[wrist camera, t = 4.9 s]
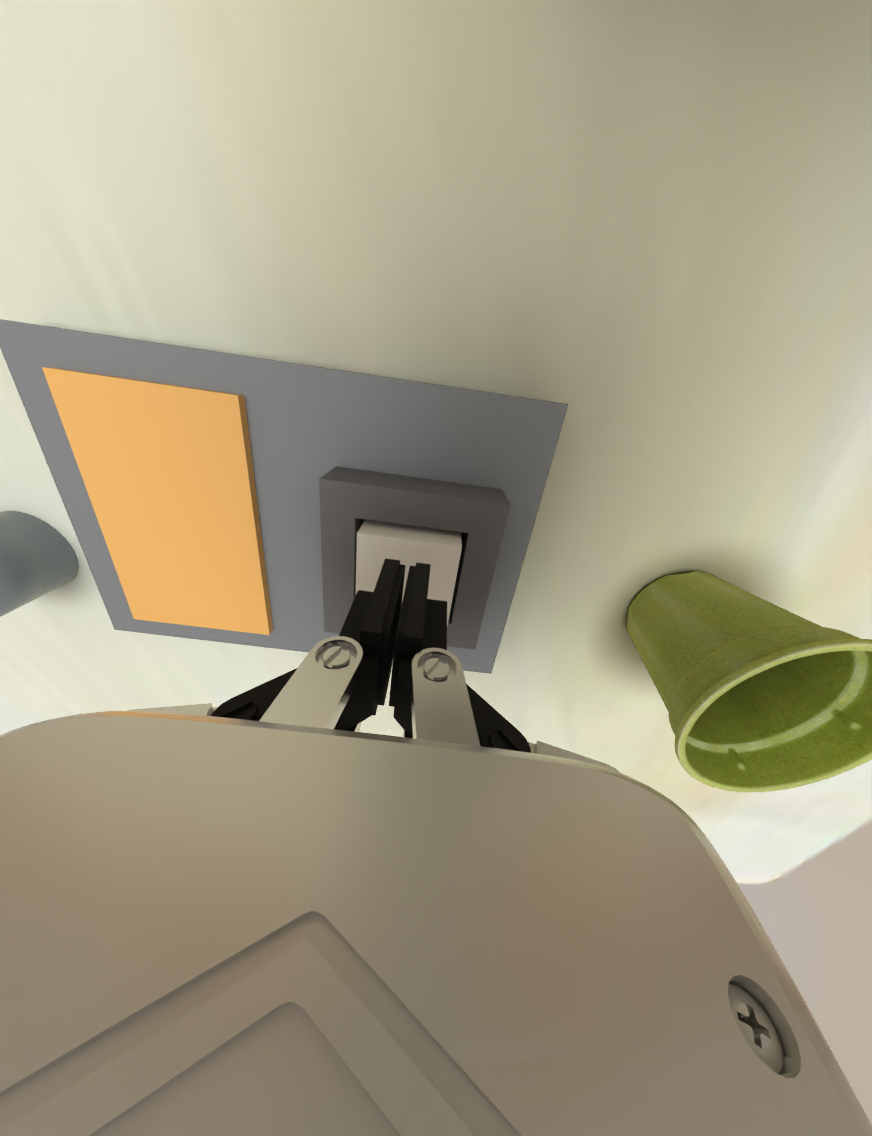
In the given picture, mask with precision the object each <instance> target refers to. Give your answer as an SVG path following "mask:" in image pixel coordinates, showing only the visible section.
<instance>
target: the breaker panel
mask: <svg viewBox="0 0 872 1136" xmlns="http://www.w3.org/2000/svg"><path fill="white" fill-rule="evenodd" d="M0 348H1V351H2V353H3V356H4V358H5V361H6V363H7V365H8V368H9V370H10V373H11V375H12V378H13V380H14V383H15V385H16V388H17V390H18V393H19V395H20V397H21V400H22V402H23V405H24V407H25V410H26V412H27V415H28V417H29V420H30V422H31V425H32V427H33V429H34V432H35V434H36V437H37V439H38V442H39V444H40V447H41V449H42V452H43V454H44V457H45V459H46V462H47V464H48V466H49V469H50V471H51V474H52V476H53V479H54V481H55V484H56V486H57V489H58V491H59V494H60V496H61V498H62V501H63V503H64V506H65V508H66V511H67V513H68V516H69V518H70V521H71V523H72V526H73V528H74V530H75V533H76V535H77V538H78V540H79V543H80V545H81V548H82V550H83V553H84V555H85V558H86V560H87V562H88V565H89V567H90V570H91V572H92V575H93V577H94V580H95V582H96V585H97V587H98V590H99V592H100V595H101V597H102V599H103V602H104V604H105V607H106V609H107V612H108V614H109V617H110V619H111V622H112V624H113V627H114V629H115V630H123V631H131V632H140V633H148V634H157V635H165V636H174V637H182V638H191V639H200V640H208V641H217V642H225V643H234V644H242V645H251V646H260V647H268V648H277V649H285V650H294V651H302V652H310V651H311V649H312V648H313V647H314V646H315V645H316V644H317V643H318V642H320V641H322V640H324V639H326V638H329V637H335V636H339V634H340V631H341V629H342V627H343V624H344V622H345V620H346V617H347V615H348V613H349V610H350V608H351V606H352V603H353V601H354V598H355V596H356V554H357V532H358V530H359V529H360V527H361V526H362V524H363V522H364V521H365V519H366V520H374V521H381V522H389V523H396V524H404V525H412V526H419V527H427V528H434V529H442V530H449V531H457V532H461V542H462V549H461V555H460V560H459V566H458V571H457V577H456V582H455V587H454V593H453V598H452V604H451V609H450V614H449V620H448V625H447V651H449V652H451V653H452V654H454V655H455V656H456V657H457V658H458V659H459V661H460V663H461V665H462V669H463V670H465V671H474V672H482V673H491V672H492V669H493V665H494V662H495V658H496V655H497V651H498V648H499V644H500V641H501V637H502V634H503V630H504V627H505V623H506V620H507V616H508V613H509V609H510V606H511V602H512V599H513V595H514V592H515V588H516V585H517V581H518V578H519V574H520V571H521V567H522V564H523V560H524V557H525V553H526V550H527V546H528V543H529V539H530V536H531V532H532V529H533V525H534V522H535V518H536V515H537V511H538V508H539V504H540V501H541V497H542V494H543V490H544V487H545V483H546V480H547V476H548V473H549V469H550V466H551V462H552V459H553V455H554V452H555V448H556V445H557V441H558V438H559V434H560V431H561V427H562V424H563V420H564V417H565V413H566V410H567V406H568V404H563V403H556V402H550V401H543V400H536V399H529V398H523V397H516V396H509V395H503V394H496V393H489V392H483V391H476V390H469V389H463V388H456V387H449V386H443V385H436V384H429V383H422V382H416V381H409V380H402V379H396V378H389V377H382V376H376V375H369V374H362V373H356V372H349V371H342V370H336V369H329V368H322V367H315V366H309V365H302V364H295V363H289V362H282V361H275V360H269V359H262V358H255V357H249V356H242V355H235V354H229V353H222V352H215V351H208V350H202V349H195V348H188V347H182V346H175V345H168V344H162V343H155V342H148V341H142V340H135V339H128V338H122V337H115V336H108V335H101V334H95V333H88V332H81V331H75V330H68V329H61V328H55V327H48V326H41V325H35V324H28V323H21V322H15V321H8V320H1V319H0ZM392 663H393V662H392Z"/></svg>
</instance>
